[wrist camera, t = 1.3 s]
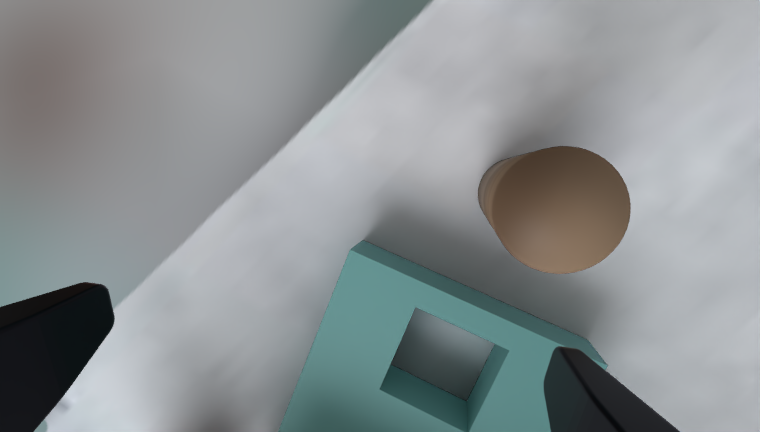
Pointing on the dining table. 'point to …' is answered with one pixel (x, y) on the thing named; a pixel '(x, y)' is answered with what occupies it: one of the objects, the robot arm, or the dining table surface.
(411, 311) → the socket plate
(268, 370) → the dining table surface
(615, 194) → the walnut peg
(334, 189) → the dining table surface
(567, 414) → the robot arm
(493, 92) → the dining table surface
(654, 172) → the dining table surface
